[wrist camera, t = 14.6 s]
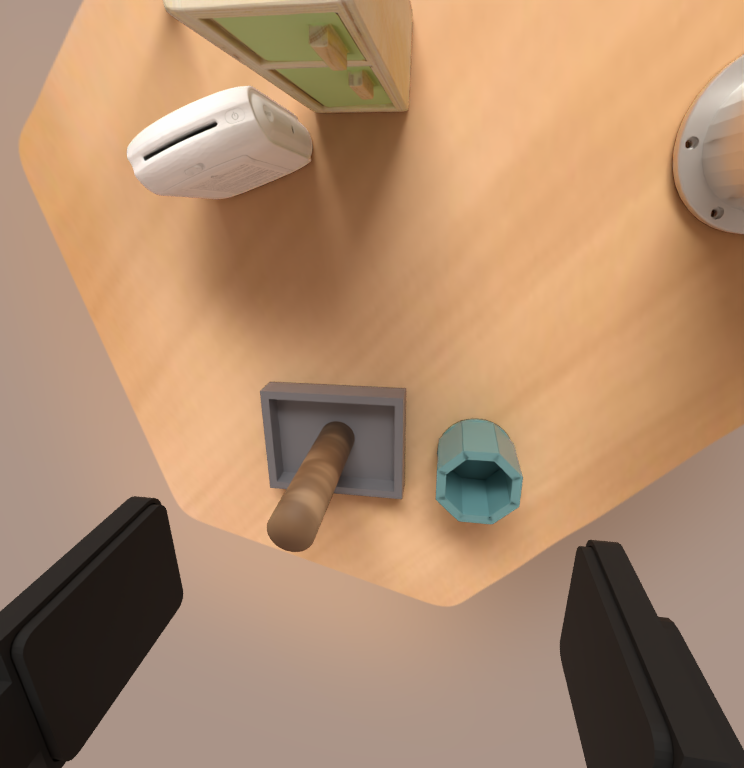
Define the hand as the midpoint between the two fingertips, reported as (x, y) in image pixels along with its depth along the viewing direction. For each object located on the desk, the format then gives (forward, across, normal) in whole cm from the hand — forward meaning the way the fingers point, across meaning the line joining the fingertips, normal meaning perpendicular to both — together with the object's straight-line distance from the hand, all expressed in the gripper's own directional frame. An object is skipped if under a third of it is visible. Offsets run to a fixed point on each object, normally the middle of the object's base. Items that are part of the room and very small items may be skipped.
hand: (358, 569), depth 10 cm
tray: (+33, +9, +14) cm, 37 cm away
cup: (+33, -5, +15) cm, 37 cm away
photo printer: (+34, +15, -12) cm, 39 cm away
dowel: (+33, +9, +14) cm, 37 cm away
